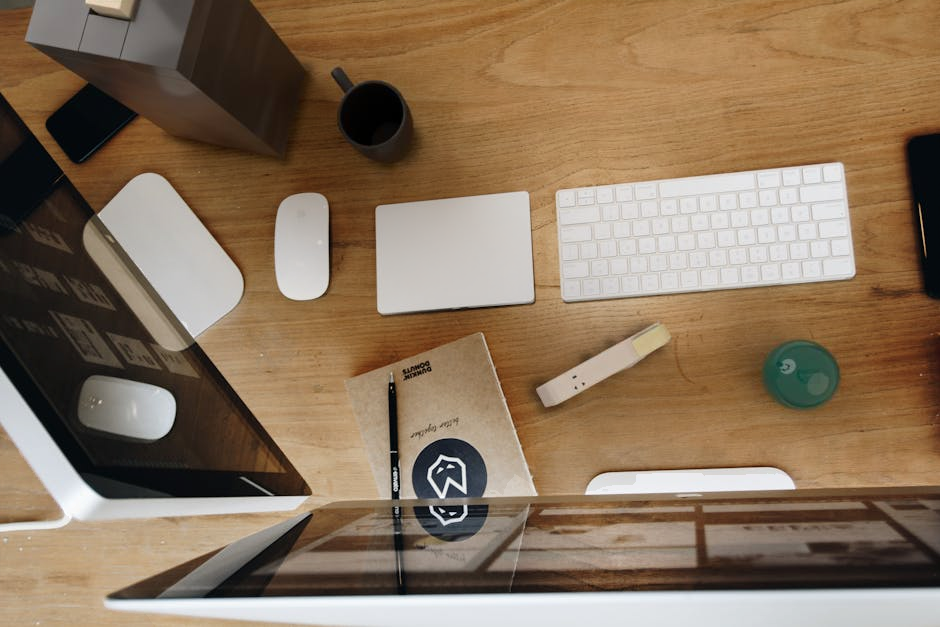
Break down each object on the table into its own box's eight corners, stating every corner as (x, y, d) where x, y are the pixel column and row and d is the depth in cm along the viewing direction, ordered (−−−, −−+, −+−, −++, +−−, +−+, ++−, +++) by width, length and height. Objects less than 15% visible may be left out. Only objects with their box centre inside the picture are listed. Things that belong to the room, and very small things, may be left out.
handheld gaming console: (654, 350, 84) (546, 409, 83) (642, 329, 85) (534, 388, 84) (682, 338, 73) (558, 407, 72) (668, 315, 74) (545, 383, 73)
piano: (171, 135, 93) (23, 41, 67) (194, 49, 93) (57, -77, 68) (283, 158, 90) (175, 70, 65) (306, 70, 91) (208, -52, 65)
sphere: (740, 392, 81) (760, 394, 73) (767, 329, 81) (790, 324, 73) (808, 421, 80) (836, 426, 72) (835, 357, 80) (866, 355, 72)
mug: (381, 76, 90) (361, 40, 80) (435, 147, 88) (421, 119, 79) (330, 115, 90) (304, 84, 81) (383, 186, 88) (363, 163, 79)
